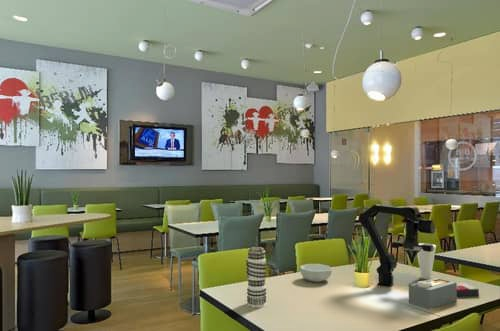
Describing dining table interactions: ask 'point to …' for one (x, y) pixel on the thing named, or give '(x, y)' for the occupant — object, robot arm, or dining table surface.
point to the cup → (426, 262)
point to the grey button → (423, 284)
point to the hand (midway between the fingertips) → (412, 263)
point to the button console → (433, 293)
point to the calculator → (466, 290)
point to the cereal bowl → (316, 272)
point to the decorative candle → (256, 277)
